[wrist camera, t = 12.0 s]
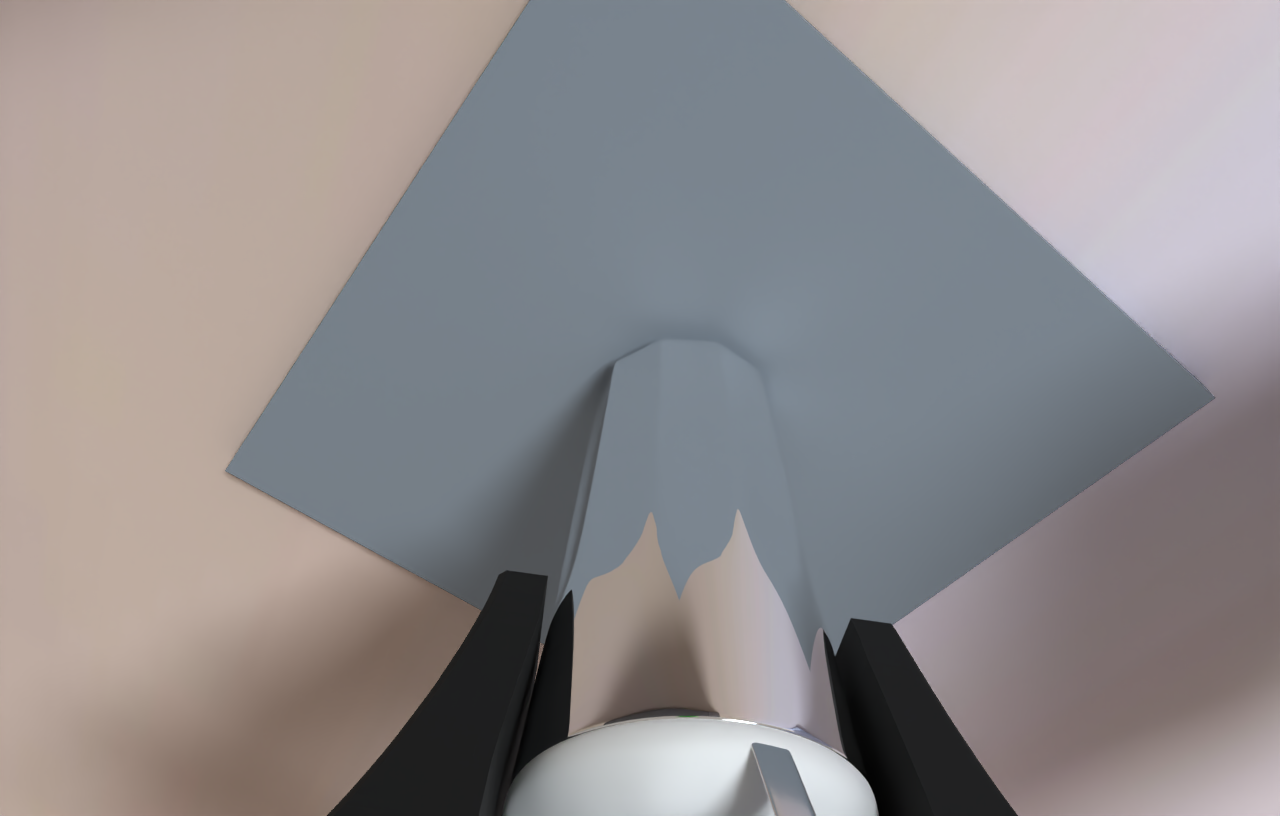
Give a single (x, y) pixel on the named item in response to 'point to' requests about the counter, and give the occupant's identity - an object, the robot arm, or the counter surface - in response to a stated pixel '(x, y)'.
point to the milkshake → (686, 617)
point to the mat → (706, 314)
